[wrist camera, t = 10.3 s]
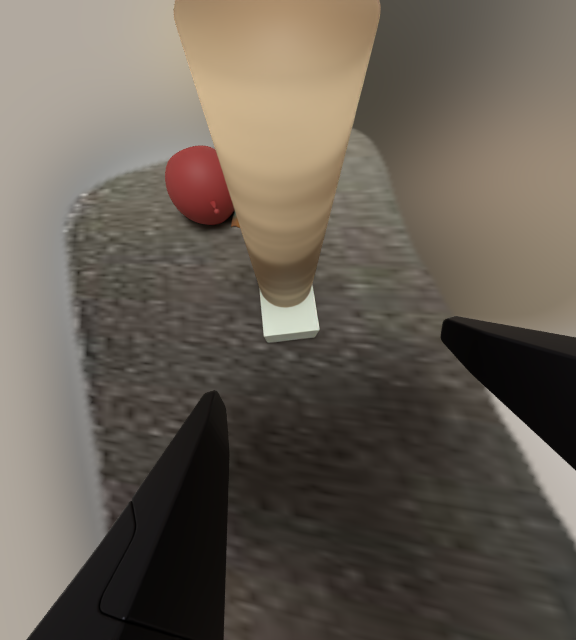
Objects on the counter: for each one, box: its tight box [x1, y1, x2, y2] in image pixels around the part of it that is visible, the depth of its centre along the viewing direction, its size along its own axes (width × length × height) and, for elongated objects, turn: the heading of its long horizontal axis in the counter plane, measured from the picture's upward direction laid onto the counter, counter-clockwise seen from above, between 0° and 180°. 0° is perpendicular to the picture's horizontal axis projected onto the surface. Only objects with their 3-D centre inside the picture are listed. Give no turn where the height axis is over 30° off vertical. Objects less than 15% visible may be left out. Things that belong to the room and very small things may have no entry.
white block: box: [260, 286, 319, 343], centre depth 18 cm, size 8×4×3 cm, turn 7°
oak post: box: [174, 0, 380, 308], centre depth 11 cm, size 4×4×13 cm
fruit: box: [165, 146, 235, 225], centre depth 19 cm, size 6×6×8 cm
